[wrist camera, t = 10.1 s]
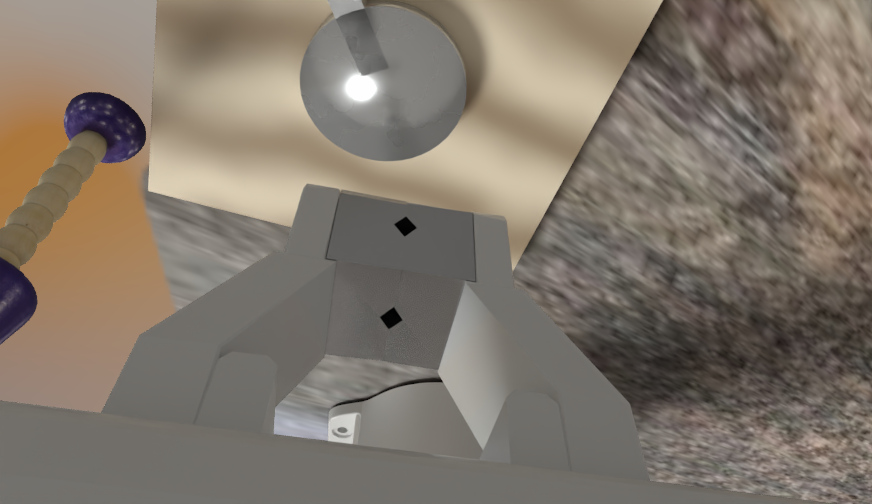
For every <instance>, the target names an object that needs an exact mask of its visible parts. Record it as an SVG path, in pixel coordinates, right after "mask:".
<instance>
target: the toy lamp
mask: <svg viewBox="0 0 872 504" xmlns="http://www.w3.org/2000/svg"><path fill="white" fill-rule="evenodd" d="M64 127H65V131H66V134H67V136H68V138H69V140H70V142H69V144H68V147H67V149H66V150H64V151H63V152H61V153H60V154H59V155H58V157H57V158H56V159H55V161H54V165H53V167H51V168H49V169H48V170H46V171H45V172H44V173H43V174H42V176H41V178H40V180H39V183H38V186H36V187H34V188H33V189H32V190H30V191H29V192H28V194H27V195H26V197H25V198H24V201H23V204H22V206H20V207H18V208H17V209H16V210H14V211H13V212H12V213H11V214H10V216H9V217H8V219H7V221H6V225H5V227H3V228H1V229H0V344H2V343H3V342H4V341H5V340H6V339H8V338H9V337H10V336H11V335H12V334H14V333H15V332H16V331H17V330H18V329H19V328H21V327H22V326H23V325H24V324H25V323H26V322H27V321H28V320H29V319H30V318H31V316H32V315H33V314H34V312H35V309H36V306H37V295H36V292H35V290H34V287H33V286H32V284H31V282H30V281H29V280H28V279H27V278H26V277H25V276H24V274H23V273H22V272H21V271H20V266H21V265H23V264H25V263H26V262H27V261H29V260H30V258H31V257H32V256H33V254H34V253H35V251H36V248H37V244H38V243H39V242H41V241H42V240H44V239H45V238H46V237H47V236H48V234H49V233H50V231H51V229H52V226H53V222H56V221H57V220H58V219H60V218H61V217H62V216H63V214H64V213H65V211H66V210H67V207H68V202H70V201H71V200H73V199H74V198H75V197H76V196H77V195H78V193H79V192H80V189H81V186H82V183H83V182H85V181H86V180H87V179H88V178H89V177H90V176H91V174H92V173H93V170H94V167H95V165H97V164H98V163H100V162H102V163H116V162H122V161H125V160H128V159H130V158H131V157H133V156H135V155H136V154H137V153H138V152H139V151H140V150H141V149H142V147H143V146H144V144H145V140H146V131H145V126H144V124H143V122H142V120H141V119H140V117H139V116H138V114H137V113H136V112H135V111H134V110H133V109H132V108H131V107H130V106H129V105H128V104H126V103H125V102H123V101H122V100H120V99H119V98H116V97H114V96H112V95H110V94H105V93H100V92H98V93H97V92H88V93H83V94H80V95H78V96H76V97H75V98H73V99H72V100H71V102H70V103H69V105H68V107H67V109H66V112H65V116H64Z"/></svg>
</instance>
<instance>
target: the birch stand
mask: <svg viewBox="0 0 872 504" xmlns="http://www.w3.org/2000/svg"><path fill="white" fill-rule="evenodd" d="M393 1H399V2H403V3H407V4H410V5H412V6H415V7H417V8H419V9H421V10H423V11H425V12H426V13H428V14H430V15H431V16H432V17H434V18H435V19H436V20H438V21H439V22H440V23H441V24H442V25H443V26H444V27H445V28H446V29H447V30H448V32H449V33H450V34H451V36H452V37H453V38H454V40H455V42H456V44H457V45H458V47H459V49H460V52H461V54H462V57H463V61H464V65H465V71H466V84H467V90H466V101H465V106H464V109H463V112H462V115H461V117H460V119H459V122H458V124H457V125H456V127H455V128H454V130H453V131H452V132H451V133H450V135H449V136H448V137H447V138H446V139H445V140H444V141H443V142H441V143H440V144H439V145H438V146H436V147H435V148H433V149H432V150H430V151H428V152H426V153H424V154H422V155H420V156H417V157H414V158H410V159H406V160H400V161H376V160H370V159H366V158H362V157H359V156H356V155H353V154H351V153H349V152H347V151H345V150H343V149H341V148H340V147H338V146H336V145H335V144H334V143H332V142H331V141H330V140H329V139H327V138H326V137H325V136H324V135H323V134H322V133H321V132H320V131H319V129H318V128H317V127H316V126H315V124H314V123H313V121H312V120H311V118H310V116H309V115H308V113H307V110H306V108H305V106H304V103H303V100H302V96H301V90H300V70H301V64H302V61H303V57H304V54H305V52H306V49H307V47H308V44H309V42H310V40H311V38H312V36H313V35H314V33H315V32H316V30H317V29H318V27H319V26H320V25H321V24H322V23H323V22H324V21H325V20H326V19H327V18H328V17H330V16H331V15H332V14H333V12H332V10H331V7H330V5H329V3H328V1H327V0H157V13H156V35H155V55H154V56H155V57H154V77H153V98H152V120H151V141H150V163H149V184H148V191H151V192H155V193H159V194H163V195H167V196H171V197H175V198H179V199H182V200H186V201H190V202H194V203H198V204H202V205H206V206H210V207H214V208H218V209H222V210H226V211H230V212H234V213H238V214H241V215H245V216H249V217H253V218H257V219H261V220H265V221H269V222H273V223H277V224H281V225H285V226H289V227H292V224H293V221H294V218H295V214H296V211H297V208H298V204H299V201H300V198H301V194H302V191H303V188H304V187H305V186H306V184H307V183H308V184H314V185H320V186H326V187H332V188H337V189H340V191H341V190H342V189H343V190H348V191H354V192H359V193H364V194H369V195H375V196H380V197H385V198H391V199H396V200H401V201H406V202H408V203H415V204H421V205H427V206H434V207H440V208H446V209H453V210H459V211H465V212H479V213H486V214H493V215H501V216H504V217H505V219H506V220H507V228H508V237H509V245H510V253H511V262H512V270H514V268H515V266H516V264H517V263H518V261H519V259H520V257H521V255H522V253H523V252H524V250H525V248H526V246H527V244H528V243H529V241H530V239H531V237H532V235H533V234H534V232H535V230H536V228H537V226H538V225H539V223H540V221H541V219H542V217H543V216H544V214H545V212H546V210H547V208H548V207H549V205H550V203H551V201H552V199H553V198H554V196H555V194H556V192H557V190H558V189H559V187H560V185H561V183H562V181H563V180H564V178H565V176H566V174H567V172H568V171H569V169H570V167H571V165H572V163H573V162H574V160H575V158H576V156H577V154H578V153H579V151H580V149H581V147H582V145H583V144H584V142H585V140H586V138H587V136H588V135H589V133H590V131H591V129H592V127H593V126H594V124H595V122H596V120H597V118H598V117H599V115H600V113H601V111H602V109H603V108H604V106H605V104H606V102H607V100H608V99H609V97H610V95H611V93H612V91H613V90H614V88H615V86H616V84H617V82H618V80H619V79H620V77H621V75H622V73H623V71H624V70H625V68H626V66H627V64H628V62H629V61H630V59H631V57H632V55H633V53H634V52H635V50H636V48H637V46H638V44H639V43H640V41H641V39H642V37H643V35H644V34H645V32H646V30H647V28H648V26H649V25H650V23H651V21H652V19H653V17H654V16H655V14H656V12H657V10H658V8H659V7H660V5H661V3H662V1H663V0H393Z"/></svg>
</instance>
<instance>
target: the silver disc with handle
mask: <svg viewBox="0 0 872 504" xmlns="http://www.w3.org/2000/svg"><path fill="white" fill-rule="evenodd" d="M327 1H328V3H329V5H330V7H331V10H332V12H333V14H332V15H331V16H330V17H328V18H327V19H326V20H325V21H324V22H323V23H322V24H321V25H320V26H319V27H318V29H317V30H316V32H315V33H314V35H313V36H312V38H311V40H310V42H309V44H308V47H307V49H306V52H305V54H304V57H303V61H302V64H301V70H300V90H301V96H302V100H303V103H304V106H305V108H306V110H307V113H308V115H309V116H310V118H311V120H312V121H313V123H314V124H315V126H316V127H317V128H318V129H319V131H320V132H321V133H322V134H323V135H324V136H325V137H326V138H327V139H329V140H330V141H331V142H332V143H334V144H335V145H336V146H338V147H340V148H341V149H343V150H345V151H347V152H349V153H351V154H353V155H356V156H359V157H362V158H366V159H370V160H376V161H400V160H406V159H410V158H414V157H417V156H420V155H422V154H424V153H426V152H428V151H430V150H432V149H433V148H435V147H436V146H438V145H439V144H440V143H441V142H443V141H444V140H445V139H446V138H447V137H448V136H449V135H450V133H451V132H452V131H453V130H454V128H455V127H456V125H457V124H458V122H459V119H460V117H461V115H462V112H463V109H464V106H465V101H466V90H467V84H466V71H465V65H464V61H463V57H462V54H461V52H460V49H459V47H458V45H457V44H456V42H455V40H454V38H453V37H452V36H451V34H450V33H449V32H448V30H447V29H446V28H445V27H444V26H443V25H442V24H441V23H440V22H439V21H438V20H436V19H435V18H434V17H432V16H431V15H430V14H428V13H426V12H425V11H423V10H421V9H419V8H417V7H415V6H412V5H410V4H407V3H403V2H399V1H393V0H327Z"/></svg>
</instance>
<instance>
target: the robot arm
mask: <svg viewBox="0 0 872 504" xmlns="http://www.w3.org/2000/svg"><path fill="white" fill-rule="evenodd" d="M324 354H327V355H336V356H345V357H354V358H363V359H372V360H380V361H387V362H393V363H399V364H405V365H411V366H417V367H423V368H429V369H435V370H438V374H439V376H440V377H441V379H442V381H443V383H441V382H430V383H418V384H411V385H406V386H401V387H398V388H394V389H391V390H389V391H386V392H384V393H382V394H380V395H377V396H375V397H373V398H371V399H369V400H366V401H363V402H356V403H349V404H344V405H339V406H336V407H334V408H332V409H331V410H330V411H329V422H328V441H324V440H316V439H308V438H300V437H292V436H284V435H276V434H273V433H274V417H275V407H276V406H277V405H278V404H279V403H280V402H281V401H282V400H283V399H284V398H285V397H286V396H287V395H288V394H289V393H290V392H291V391H292V390H293V389H294V388H295V387H296V386H297V385H298V384H299V383H300V382H301V380H302V379H303V378H304V377H305V376H306V375H307V374H308V373H309V372H310V371H311V370H312V369H313V368H314V367H315V366H316V365H317V364H318V363H319V362H320V361H321V360H322V359H323V358H324ZM0 504H834V503H826V502H818V501H810V500H802V499H794V498H786V497H777V496H769V495H761V494H753V493H745V492H737V491H729V490H721V489H712V488H704V487H696V486H688V485H680V484H672V483H664V482H656V481H650V479H649V475H648V471H647V467H646V464H645V460H644V456H643V452H642V448H641V444H640V440H639V436H638V432H637V429H636V425H635V421H634V417H633V413H632V409H631V405H630V403H629V402H628V401H627V400H626V399H625V398H624V397H623V396H622V395H621V393H620V392H619V391H618V390H617V389H616V388H615V387H614V386H613V385H612V384H611V383H610V382H609V381H608V380H607V378H606V377H605V376H604V375H603V374H602V373H601V372H600V371H599V370H598V369H597V368H596V367H595V366H594V365H593V363H592V362H591V361H590V360H589V359H588V358H587V357H586V356H585V355H584V354H583V353H582V352H581V351H580V350H579V348H578V347H577V346H576V345H575V344H574V343H573V342H572V341H571V340H570V339H569V338H568V337H567V336H566V335H565V333H564V332H563V331H562V330H561V329H560V328H559V327H558V326H557V325H556V324H555V323H554V322H553V321H552V320H551V318H550V317H549V316H548V315H547V314H546V313H545V312H544V311H543V310H542V309H541V308H540V307H539V306H538V305H537V303H536V302H535V301H534V300H533V299H532V298H531V297H530V296H529V295H528V294H527V293H526V292H525V291H524V290H520V289H515V287H514V279H513V270H512V262H511V253H510V245H509V237H508V228H507V220H506V219H505V217H504V216H501V215H493V214H486V213H479V212H465V211H459V210H453V209H446V208H440V207H434V206H427V205H421V204H415V203H408V202H406V201H401V200H396V199H391V198H385V197H380V196H375V195H369V194H364V193H359V192H354V191H348V190H343V189H342V190H341V191H340V189H337V188H332V187H326V186H320V185H314V184H308V183H307V184H306V186H305V187H304V188H303V191H302V194H301V198H300V201H299V204H298V208H297V211H296V214H295V218H294V221H293V224H292V228H291V231H290V234H289V238H288V241H287V244H286V248H285V251H284V253H281V252H272V253H270V254H269V255H267V256H266V257H264V258H262V259H261V260H259V261H258V262H256V263H254V264H253V265H251V266H250V267H248V268H246V269H245V270H243V271H242V272H240V273H238V274H237V275H235V276H234V277H232V278H230V279H229V280H227V281H226V282H224V283H222V284H221V285H219V286H218V287H216V288H214V289H213V290H211V291H210V292H208V293H206V294H205V295H203V296H202V297H200V298H198V299H197V300H195V301H194V302H192V303H190V304H189V305H187V306H186V307H184V308H182V309H181V310H179V311H177V312H176V313H174V314H173V315H171V316H169V317H168V318H166V319H165V320H163V321H162V322H160V323H158V324H157V325H155V326H153V327H152V328H150V329H149V330H147V331H146V332H144V333H142V334H141V335H139V337H138V339H137V341H136V343H135V345H134V347H133V349H132V352H131V353H130V355H129V357H128V359H127V361H126V363H125V365H124V368H123V369H122V372H121V374H120V376H119V378H118V380H117V382H116V384H115V386H114V388H113V390H112V392H111V394H110V396H109V398H108V400H107V402H106V404H105V406H104V408H103V410H102V412H101V413H97V412H89V411H81V410H72V409H65V408H56V407H48V406H40V405H33V404H25V403H17V402H8V401H0Z"/></svg>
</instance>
